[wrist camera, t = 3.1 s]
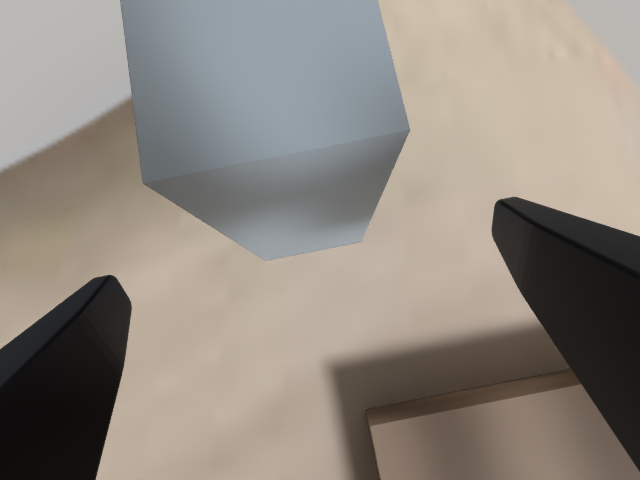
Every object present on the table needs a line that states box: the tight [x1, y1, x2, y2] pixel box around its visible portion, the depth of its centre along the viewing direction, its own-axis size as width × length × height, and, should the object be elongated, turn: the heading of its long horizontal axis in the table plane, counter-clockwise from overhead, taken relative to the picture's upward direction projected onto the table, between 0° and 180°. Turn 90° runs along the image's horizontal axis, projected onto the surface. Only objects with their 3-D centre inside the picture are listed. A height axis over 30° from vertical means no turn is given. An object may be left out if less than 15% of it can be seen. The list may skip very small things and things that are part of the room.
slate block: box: [120, 0, 410, 261], centre depth 14 cm, size 5×5×13 cm
